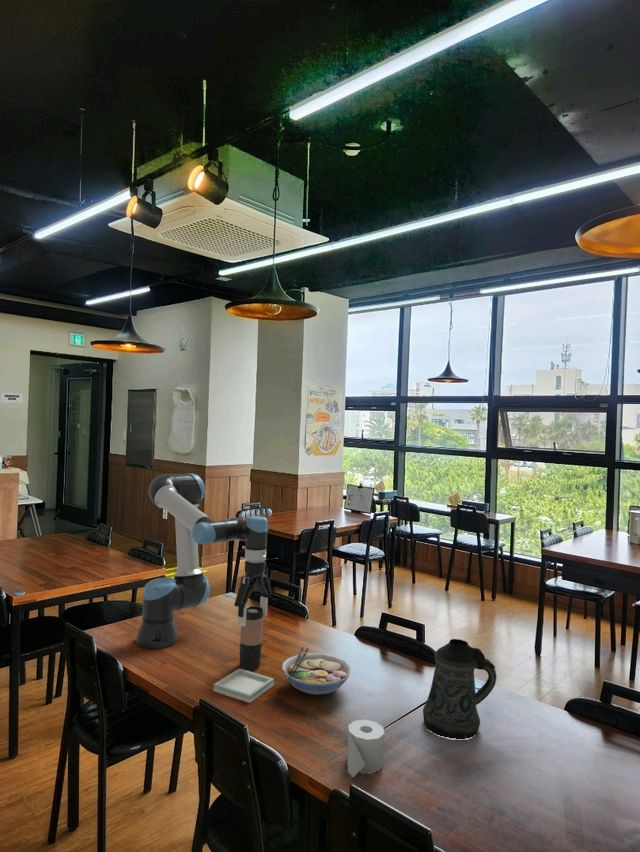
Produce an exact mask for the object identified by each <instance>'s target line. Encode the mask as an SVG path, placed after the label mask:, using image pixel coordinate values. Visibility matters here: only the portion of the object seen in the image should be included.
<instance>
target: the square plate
mask: <svg viewBox="0 0 640 852" xmlns="http://www.w3.org/2000/svg"><path fill="white" fill-rule="evenodd" d="M274 685H275V678H273V677H270V676H267V675H263V674H260V673H256V672H252V671H251V670H245V669H242V668H241V667H240V668H238V669H236V670H233V672H231V673H229V674H228V675H226V676H225V677H223V678H221V679H220V680H218V681H217V682H215V683H213V692H215V693H218V694H221V695H224V696H227V697H230V698H232V699H237V700H239V701H241V702H246V703H248V704H251V703H252V702H253V701H254V700H256V699H258V698H259V697H260V696H262V695H263V694H264V693H266V692H267V691H269V690H270V689H271V688H272V687H274Z"/></svg>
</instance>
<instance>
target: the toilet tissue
mask: <svg viewBox="0 0 640 852" xmlns="http://www.w3.org/2000/svg"><path fill="white" fill-rule="evenodd" d="M347 727H348V729H347V730H348V731H347V747H346V750H347V751H346V764H347V765H346V766H347V767H348V769H347V773H348V772H349V773H350V774H351V775H352V777H353V778H355V776H357V774H358V773H359V772H363V773H369V772H374V771H377V770H378V769H379V768H380V767H381V766H382V765H384V747H385V730H384V727H383V726H382V725H381V724H380V723H378V722H376V721H373V720H372V721H371V720H369V719H358V720H354V721H352V722H351V723H349V724H348V726H347ZM349 773H348V774H349ZM363 773H362V774H363ZM352 777H351V778H352Z"/></svg>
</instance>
